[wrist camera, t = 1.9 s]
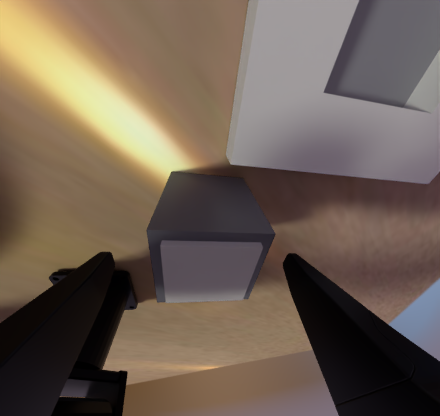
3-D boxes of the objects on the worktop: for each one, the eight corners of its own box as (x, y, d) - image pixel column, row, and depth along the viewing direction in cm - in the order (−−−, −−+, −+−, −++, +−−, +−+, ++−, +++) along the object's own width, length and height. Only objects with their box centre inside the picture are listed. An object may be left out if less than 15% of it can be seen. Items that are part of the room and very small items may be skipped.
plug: (231, 230, 14) (249, 304, 9) (173, 228, 13) (156, 308, 8) (242, 177, 12) (278, 239, 6) (171, 171, 11) (144, 235, 5)
